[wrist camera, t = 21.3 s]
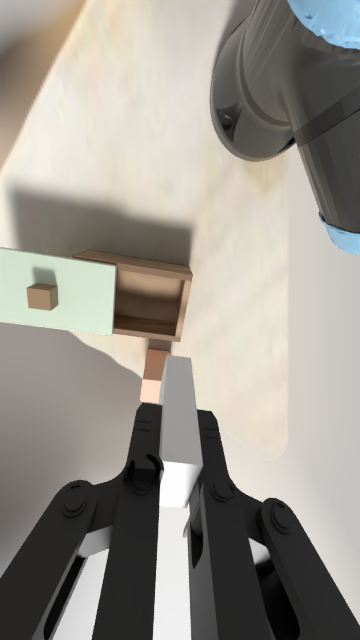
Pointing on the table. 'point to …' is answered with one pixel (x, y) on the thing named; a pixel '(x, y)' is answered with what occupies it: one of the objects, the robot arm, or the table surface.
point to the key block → (153, 375)
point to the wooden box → (147, 295)
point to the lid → (56, 292)
